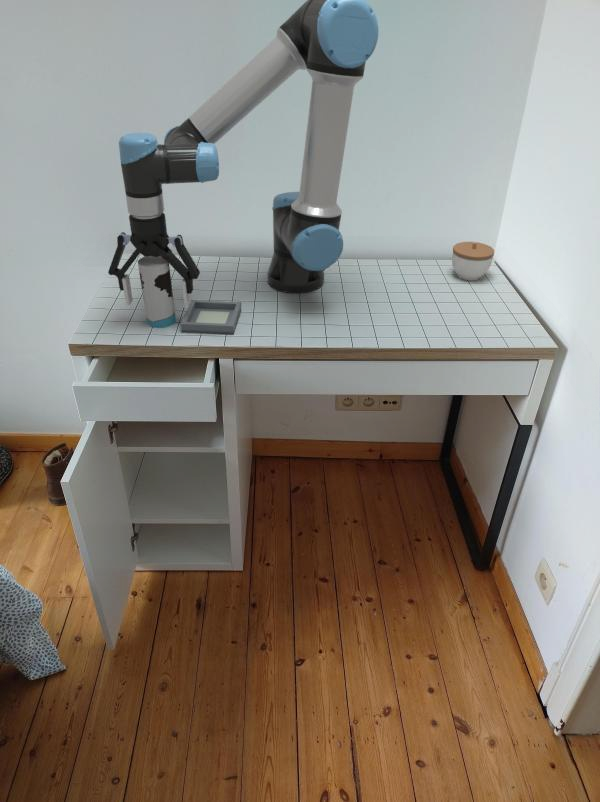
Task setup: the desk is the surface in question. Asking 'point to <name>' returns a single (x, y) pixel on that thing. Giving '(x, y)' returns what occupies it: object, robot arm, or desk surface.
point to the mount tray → (211, 317)
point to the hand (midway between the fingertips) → (158, 304)
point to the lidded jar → (471, 259)
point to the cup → (157, 291)
